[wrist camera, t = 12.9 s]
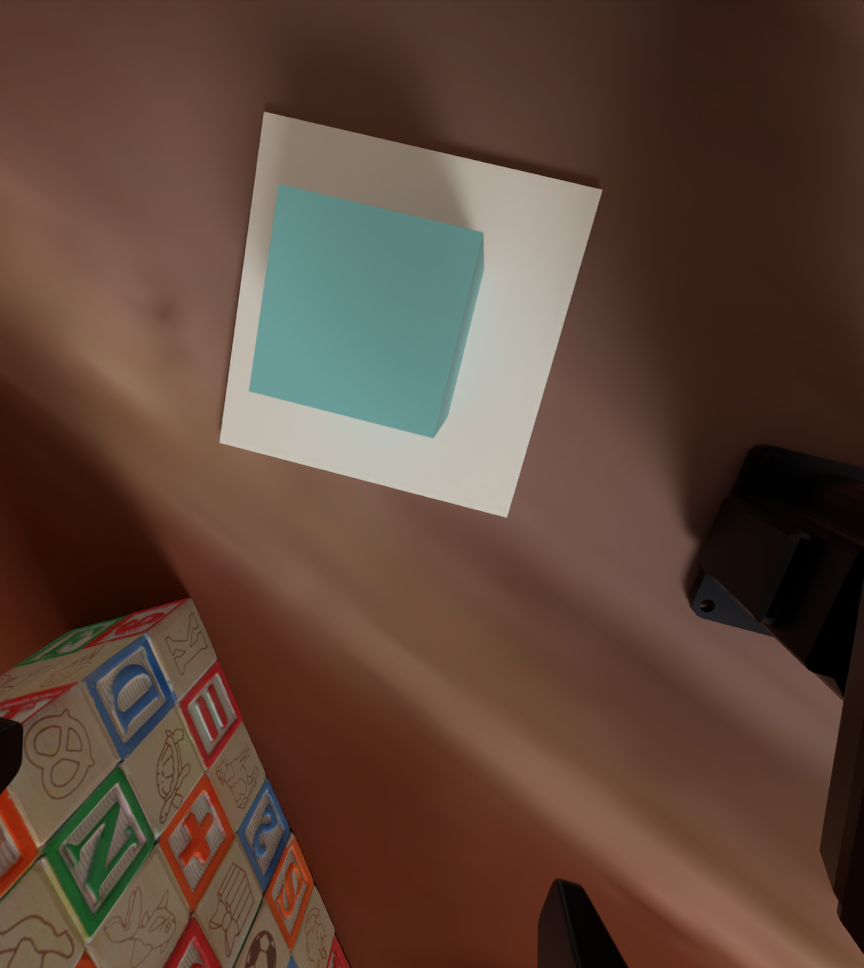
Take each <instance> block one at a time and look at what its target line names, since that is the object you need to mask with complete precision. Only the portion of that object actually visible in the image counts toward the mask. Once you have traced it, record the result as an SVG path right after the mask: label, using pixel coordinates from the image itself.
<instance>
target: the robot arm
mask: <svg viewBox="0 0 864 968" xmlns="http://www.w3.org/2000/svg"><path fill="white" fill-rule="evenodd" d="M766 453H769V455H770V460H769V462H768V463H767V464H765V465H763V466H761V464H760V459H761V457H762V456H763V455H764V454H766ZM699 563H700V565H701V567H702V568H701V570H700V573H699V575H698V578H697V580H696V583H695V585H694V588H693V590H692V592H691V595H690V597H689V605H690V607H691V609H692V610H693V611H694V612H695V613H696V615H697V616H699V617H701V618H704V619H708V620H711V621H715V622H719V623H723V624H727V625H730V626H734V627H738V628H742V629H745V630H749V631H753V632H757V633H761V634H764V635H768V636H772V637H775V638H776V639H777V640H778V641H779V642H780V643H781V644H782V645H783V646H784V647H785V648H786V649H787V650H788V651H789V652H790V653H791V654H792V655H793V656H794V657H795V658H796V659H798V660H799V661H800V662H801V663H802V664H803V665H804V666H805V667H806V668H807V669H808V670H810V671H811V672H813V673H815V674H816V675H817V676H818V677H819V678H820V679H821V680H822V681H823V682H824V683H825V684H826V685H827V686H828V687H829V688H830V689H831V690H832V691H833V692H834V693H835V694H836V695H838V696H839V697H840V698H841V699H842V700H843V707H842V713H841V719H840V725H839V731H838V738H837V744H836V750H835V756H834V762H833V768H832V774H831V780H830V786H829V793H828V799H827V805H826V811H825V817H824V823H823V830H822V837H821V844H820V853H821V856H822V859H823V862H824V865H825V868H826V871H827V874H828V877H829V880H830V883H831V886H832V889H833V892H834V894H835V895H836V897H837V899H838V901H839V902H838V907H837V914H838V917H839V919H840V921H841V922H842V924H843V925H844V927H845V928H846V930H847V931H848V932H849V934H850V935H851V937H852V938H853V940H854V941H855V942H856V944H857V945H858V947H859V948H860V950H861V951H862V952H863V954H864V468H861V467H857V466H853V465H849V464H845V463H841V462H837V461H833V460H829V459H825V458H821V457H817V456H813V455H809V454H805V453H801V452H797V451H793V450H789V449H785V448H781V447H777V446H773V445H769V444H760V445H757V446H755V447H753V448H752V449H751V450H750V451H749V453H748V455H747V457H746V459H745V462H744V464H743V467H742V469H741V472H740V474H739V477H738V479H737V482H736V484H735V487H734V489H733V491H732V494H731V495H730V496H729V497H727V498H726V499H724V501H723V503H722V506H721V508H720V510H719V513H718V515H717V518H716V520H715V523H714V525H713V528H712V530H711V533H710V535H709V538H708V540H707V543H706V545H705V548H704V550H703V553H702V555H701V558H700V560H699ZM704 600H710V603H709V605H708V606H706V607H700V604H701V603H702V601H704ZM23 734H24V729H23V726H22V724H21V723H20V722H17V721H14V720H10V719H7V718H3V717H0V795H1V794H2V793H3V791H4V790H5V789H6V788H7V787H8V785H9V784H10V783H11V782H12V781H13V779H14V778H15V777H16V775H17V773H18V772H19V770H20V767H21V764H22V759H23ZM538 968H628V966H627V964H626V962H625V960H624V959H623V957H622V955H621V953H620V952H619V950H618V948H617V946H616V945H615V943H614V941H613V939H612V937H611V936H610V934H609V932H608V930H607V929H606V927H605V925H604V923H603V921H602V920H601V918H600V916H599V914H598V913H597V911H596V909H595V907H594V905H593V904H592V902H591V900H590V898H589V897H588V895H587V893H586V891H585V890H584V888H583V887H582V886H581V885H580V884H578V883H575V882H571V881H568V880H564V879H561V878H557V879H555V880H554V881H553V883H552V885H551V888H550V890H549V893H548V896H547V898H546V901H545V903H544V906H543V908H542V911H541V914H540V917H539V923H538Z"/></svg>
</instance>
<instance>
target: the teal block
mask: <svg viewBox="0 0 864 968" xmlns="http://www.w3.org/2000/svg"><path fill="white" fill-rule="evenodd" d="M483 272H484V235H483V232H480V231H476V230H472V229H468V228H463V227H459V226H455V225H451V224H446V223H442V222H438V221H434V220H429V219H425V218H421V217H417V216H413V215H408V214H404V213H400V212H396V211H391V210H387V209H383V208H379V207H375V206H370V205H366V204H362V203H358V202H353V201H349V200H345V199H341V198H337V197H332V196H328V195H324V194H320V193H315V192H311V191H307V190H303V189H298V188H294V187H290V186H286V185H282V184H279V186H278V192H277V199H276V206H275V213H274V220H273V227H272V234H271V241H270V248H269V255H268V262H267V268H266V275H265V282H264V289H263V296H262V303H261V310H260V317H259V324H258V331H257V338H256V344H255V351H254V358H253V365H252V372H251V379H250V386H249V392H253V393H257V394H261V395H265V396H269V397H273V398H277V399H281V400H285V401H289V402H293V403H296V404H300V405H304V406H308V407H312V408H316V409H320V410H324V411H328V412H332V413H336V414H340V415H344V416H347V417H351V418H355V419H359V420H363V421H367V422H371V423H375V424H379V425H383V426H387V427H391V428H394V429H398V430H402V431H406V432H410V433H414V434H418V435H422V436H426V437H430V438H434V437H435V435H436V434H437V432H438V431H439V430H440V428H441V427H442V425H443V424H444V422H445V421H446V419H447V418H448V414H449V410H450V406H451V402H452V398H453V394H454V390H455V386H456V382H457V378H458V374H459V370H460V366H461V362H462V358H463V353H464V349H465V345H466V341H467V337H468V333H469V329H470V325H471V321H472V317H473V313H474V309H475V305H476V301H477V297H478V293H479V289H480V285H481V281H482V277H483Z"/></svg>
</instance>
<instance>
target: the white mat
mask: <svg viewBox="0 0 864 968" xmlns="http://www.w3.org/2000/svg"><path fill="white" fill-rule="evenodd" d="M279 184H282V185H286V186H290V187H294V188H298V189H303V190H307V191H311V192H315V193H320V194H324V195H328V196H332V197H337V198H341V199H345V200H349V201H353V202H358V203H362V204H366V205H370V206H375V207H379V208H383V209H387V210H391V211H396V212H400V213H404V214H408V215H413V216H417V217H421V218H425V219H429V220H434V221H438V222H442V223H446V224H451V225H455V226H459V227H463V228H468V229H472V230H476V231H480V232H483V235H484V272H483V277H482V281H481V285H480V289H479V293H478V297H477V301H476V305H475V309H474V313H473V317H472V321H471V325H470V329H469V333H468V337H467V341H466V345H465V349H464V353H463V358H462V362H461V366H460V370H459V374H458V378H457V382H456V386H455V390H454V394H453V398H452V402H451V406H450V410H449V414H448V418H447V419H446V421H445V422H444V424H443V425H442V427H441V428H440V430H439V431H438V432H437V434H436V435H435V437H434V438H430V437H426V436H422V435H418V434H414V433H410V432H406V431H402V430H398V429H394V428H391V427H387V426H383V425H379V424H375V423H371V422H367V421H363V420H359V419H355V418H351V417H347V416H344V415H340V414H336V413H332V412H328V411H324V410H320V409H316V408H312V407H308V406H304V405H300V404H296V403H293V402H289V401H285V400H281V399H277V398H273V397H269V396H265V395H261V394H257V393H253V392H249V386H250V379H251V372H252V365H253V358H254V351H255V344H256V338H257V331H258V324H259V317H260V310H261V303H262V296H263V289H264V282H265V275H266V268H267V262H268V255H269V248H270V241H271V234H272V227H273V220H274V213H275V206H276V199H277V192H278V186H279ZM601 193H602V190H601V189H597V188H592V187H588V186H584V185H579V184H575V183H571V182H566V181H562V180H558V179H553V178H549V177H545V176H540V175H536V174H532V173H527V172H523V171H519V170H514V169H510V168H506V167H501V166H497V165H493V164H488V163H484V162H480V161H475V160H471V159H467V158H463V157H458V156H454V155H450V154H445V153H441V152H437V151H432V150H428V149H424V148H419V147H415V146H411V145H406V144H402V143H398V142H393V141H389V140H385V139H380V138H376V137H372V136H367V135H363V134H359V133H354V132H350V131H346V130H341V129H337V128H333V127H328V126H324V125H320V124H315V123H311V122H307V121H302V120H298V119H294V118H290V117H285V116H281V115H277V114H272V113H268V112H264V115H263V123H262V130H261V138H260V145H259V153H258V160H257V168H256V175H255V182H254V190H253V197H252V205H251V212H250V220H249V227H248V235H247V242H246V250H245V257H244V264H243V272H242V279H241V287H240V294H239V302H238V309H237V317H236V324H235V332H234V339H233V346H232V354H231V361H230V369H229V376H228V384H227V391H226V399H225V406H224V413H223V421H222V428H221V436H220V443H223V444H227V445H230V446H234V447H238V448H242V449H246V450H250V451H254V452H257V453H261V454H265V455H269V456H273V457H277V458H280V459H284V460H288V461H292V462H296V463H300V464H303V465H307V466H311V467H315V468H319V469H323V470H326V471H330V472H334V473H338V474H342V475H346V476H349V477H353V478H357V479H361V480H365V481H369V482H372V483H376V484H380V485H384V486H388V487H392V488H395V489H399V490H403V491H407V492H411V493H415V494H418V495H422V496H426V497H430V498H434V499H438V500H441V501H445V502H449V503H453V504H457V505H461V506H464V507H468V508H472V509H476V510H480V511H484V512H487V513H491V514H495V515H499V516H503V517H507V515H508V512H509V509H510V505H511V502H512V498H513V495H514V491H515V488H516V485H517V481H518V478H519V474H520V471H521V467H522V464H523V461H524V457H525V454H526V450H527V447H528V444H529V440H530V437H531V433H532V430H533V426H534V423H535V420H536V416H537V413H538V409H539V406H540V402H541V399H542V396H543V392H544V389H545V385H546V382H547V378H548V375H549V372H550V368H551V365H552V361H553V358H554V354H555V351H556V348H557V344H558V341H559V337H560V334H561V330H562V327H563V324H564V320H565V317H566V313H567V310H568V306H569V303H570V300H571V296H572V293H573V289H574V286H575V282H576V279H577V276H578V272H579V269H580V265H581V262H582V258H583V255H584V252H585V248H586V245H587V241H588V238H589V234H590V231H591V228H592V224H593V221H594V217H595V214H596V211H597V207H598V204H599V200H600V197H601Z"/></svg>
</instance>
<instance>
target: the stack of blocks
mask: <svg viewBox="0 0 864 968" xmlns="http://www.w3.org/2000/svg"><path fill="white" fill-rule="evenodd" d="M0 717H3V718H7V719H10V720H14V721H17V722H20V723H21V724H22V726H23V729H24V734H23V759H22V764H21V767H20V770H19V772H18V773H17V775H16V777H15V778H14V779H13V781H12V782H11V783H10V784H9V785H8V787H7V788H6V789H5V790H4V791H3V793H2V794H1V795H0V968H350V967H349V964H348V962H347V960H346V958H345V956H344V954H343V952H342V949H341V947H340V944H339V943H338V941H337V938H336V936H335V935H334V932H335V931H334V926H333V924H332V922H331V919H330V917H329V915H328V912H327V910H326V908H325V905H324V903H323V901H322V899H321V896H320V894H319V892H318V890H317V888H316V886H315V885H314V883H313V879H312V876H311V873H310V871H309V869H308V866H307V864H306V862H305V859H304V857H303V854H302V852H301V849H300V847H299V845H298V843H297V841H296V838H295V835H294V834H293V833H292V832H290V828H289V825H288V823H287V820H286V818H285V816H284V814H283V812H282V809H281V807H280V804H279V802H278V800H277V798H276V795H275V793H274V791H273V789H272V786H271V784H270V781H269V780H268V779H267V777H266V775H265V771H264V769H263V767H262V764H261V762H260V760H259V758H258V755H257V753H256V750H255V748H254V746H253V744H252V742H251V739H250V737H249V734H248V732H247V730H246V728H245V726H244V724H243V721H242V720H243V717H242V715H241V713H240V710H239V708H238V705H237V703H236V701H235V698H234V696H233V694H232V692H231V689H230V687H229V685H228V682H227V680H226V678H225V675H224V673H223V671H222V668H221V666H220V664H219V661H218V660H217V657H216V653H215V651H214V649H213V646H212V644H211V642H210V639H209V637H208V635H207V632H206V630H205V628H204V625H203V623H202V621H201V618H200V616H199V614H198V611H197V609H196V607H195V604H194V602H193V600H192V599H191V598H185V599H182V600H178V601H175V602H171V603H167V604H163V605H160V606H156V607H152V608H149V609H145V610H141V611H138V612H134V613H131V614H130V615H127V616H124V617H120V618H116V619H112V620H108V621H105V622H101V623H97V624H93V625H89V626H86V627H82V628H78V629H74V630H71V631H69V632H68V633H66V634H64V635H62V636H61V637H59V638H58V639H56V640H54V641H53V642H51V643H50V644H48V645H46V646H45V647H43V648H42V649H40V650H39V651H37V652H36V653H34V654H33V655H31V656H30V657H28V658H27V659H25V660H23V661H22V662H20V663H19V664H17V665H16V666H14V667H13V668H12V669H11V670H9V671H8V672H6V673H4V674H3V675H1V676H0Z"/></svg>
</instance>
